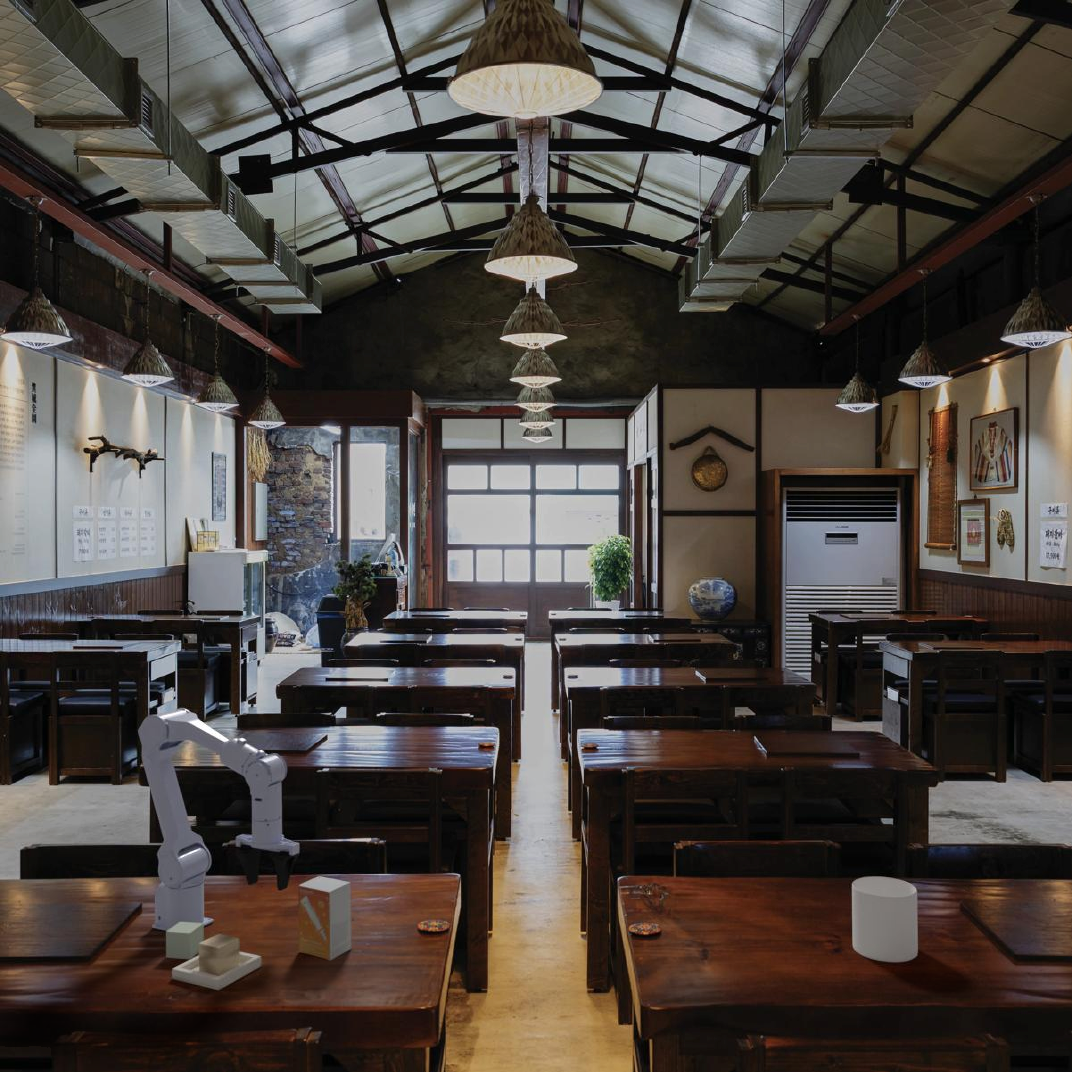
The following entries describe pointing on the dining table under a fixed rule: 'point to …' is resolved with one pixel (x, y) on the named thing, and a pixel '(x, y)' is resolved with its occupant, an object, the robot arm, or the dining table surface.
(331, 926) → the small box
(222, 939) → the maple cube
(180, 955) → the sage cube
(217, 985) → the tray
